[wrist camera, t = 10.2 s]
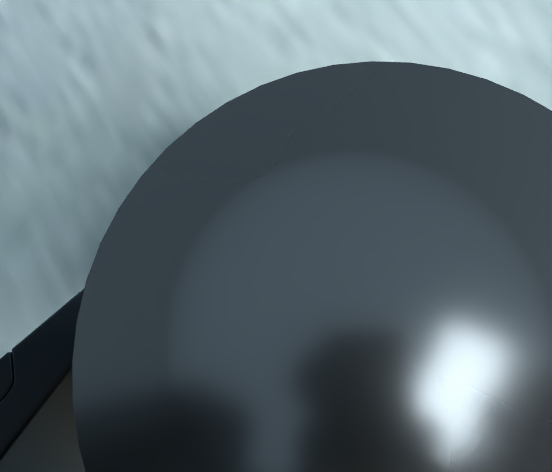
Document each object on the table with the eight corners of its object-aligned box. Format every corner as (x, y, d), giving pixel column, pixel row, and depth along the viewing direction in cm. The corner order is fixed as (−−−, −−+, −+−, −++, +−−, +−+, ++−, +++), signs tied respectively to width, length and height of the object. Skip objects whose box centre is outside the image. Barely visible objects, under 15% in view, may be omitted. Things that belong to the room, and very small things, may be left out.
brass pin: (286, 381, 16) (272, 870, 3) (227, 278, 16) (-29, 250, 3) (387, 319, 16) (862, 487, 3) (325, 220, 16) (471, -38, 3)
